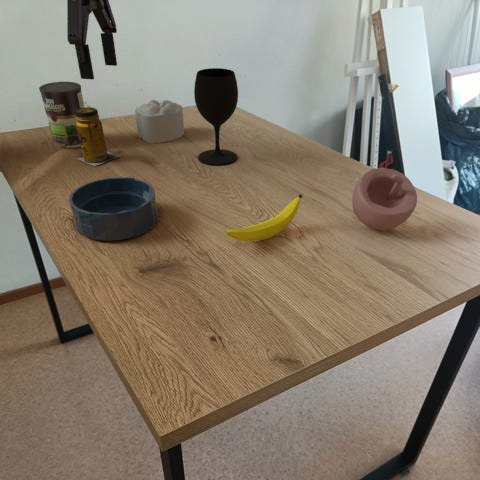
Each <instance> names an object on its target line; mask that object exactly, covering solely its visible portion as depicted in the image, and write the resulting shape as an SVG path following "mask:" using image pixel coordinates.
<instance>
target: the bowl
mask: <svg viewBox="0 0 480 480" xmlns="http://www.w3.org/2000/svg"><path fill="white" fill-rule="evenodd" d="M68 203H69V207H70V211H71V215H72V219H73V222H74V223H73V224H74V226H75V228H76V231H77V232H78V233H80V234H81V235H82V236H83V237H85V238H86V237H87V238H88V239H93V240H97V241H106V242H107V241H108V242H110V241H122V240H127V239H130V238H131V239H132V238H135V237H138V236H140V235H142V234H144V233H147V232H148V231H149V230H151V229H152V228H154V227H155V225H156V223H157V222H158V220H159V216H158V215H159V214H158V205H157V198H156V190H155V188H154V187H153V186H152V184H150V183H149V182H147V181H145V180H142V179H140V178H135V177H125V176H118V177H117V176H116V177H105V178H99V179H95V180H92V181H89V182H86V183H83V184H82V185H80V186H78V187H76V188H75V189H74V190H73V191H72V192H70V195H69V198H68Z"/></svg>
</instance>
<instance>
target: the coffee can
mask: <svg viewBox="0 0 480 480" xmlns="http://www.w3.org/2000/svg"><path fill="white" fill-rule="evenodd" d="M38 90H39V93H40V95H41V100H42V103H43V107H44V111H45V114H46V119H47V123H48V126H49V130H50V134H51V139H52V141H53V142H54V143H57V144H61V145H62V144H63V146H61V149H77V148H81V143H80V139H79V135H78V130H77V125H76V123H77V119H76V118H77V117H76V114H75V111H76V110H77V109H80V108H86V106H85V103H84V97H83V93H82V85H81V84H80V83H79V82H78V83H77V82H73V81H54V82H47V83H45V84H44V83H43V84H42V85H40V86H39V88H38Z"/></svg>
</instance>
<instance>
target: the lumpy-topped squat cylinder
mask: <svg viewBox="0 0 480 480" xmlns="http://www.w3.org/2000/svg"><path fill="white" fill-rule="evenodd" d="M134 114H135V121H136V130H137V136H138V138H139V139H142V140H144V141H145V142H146V143H148V144H161V143H167V142H170V141H171V142H172V141H174V140H178V139H180V138H182V137H183V136H184V135H185V125H184V124H185V123H184V110H183V105H181V104H179V103H176V102H173V101H171V100H168V99H165V100H162V101H160V102H159V101H158V100H156V99H151V100H149V101H148V102H147V103H144V104H141V105H140V106H138V107H136V108H135V109H134Z"/></svg>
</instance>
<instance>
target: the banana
mask: <svg viewBox="0 0 480 480" xmlns="http://www.w3.org/2000/svg"><path fill="white" fill-rule="evenodd" d="M302 198H303V194H301V193H300V194H298V196H297V197H295V198H294V199H293V200H291V201H290V202H289V203H288V204H287V205H286V206H285V207H284V208H283V209H282V210H281V211H280V212H279V213H278V214H277V215H276V216H273V217H272V218H270V219H268V220H265V221H263V222H260V223H256V224H252V225H249V226H245V227H241V228H231V229H227V230H225V231H224V234H226V235H227V236H228V237H230V238H231V239H233V240H237V241H239V242H240V241H241V242H256V241H262V240H267V239H269V238H273V237H274V236H276V235H278V234H280V233H281V232H282V231H284V230H285V229H286V228H287V227H288V226H289V225H290V223H291V222H292V221H293V219H294V218H295V216H296V214H297V212H298V210H299V207H300V203H301V199H302Z"/></svg>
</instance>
